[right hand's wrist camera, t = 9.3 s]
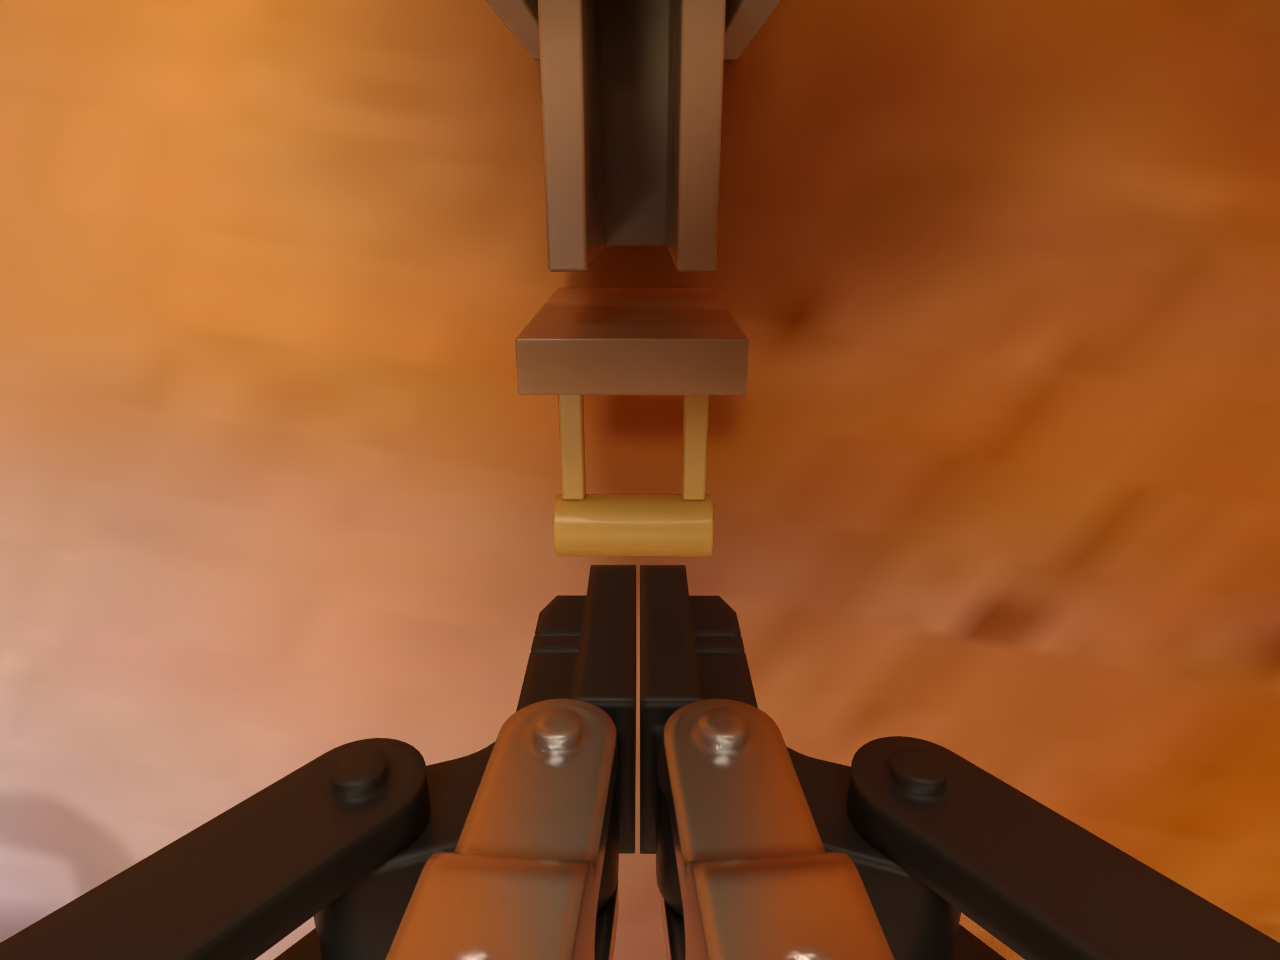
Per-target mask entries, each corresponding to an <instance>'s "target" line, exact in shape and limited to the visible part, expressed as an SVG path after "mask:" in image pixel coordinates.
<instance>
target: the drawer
mask: <svg viewBox="0 0 1280 960" xmlns="http://www.w3.org/2000/svg"><path fill="white" fill-rule="evenodd" d="M725 10H726V0H538V19H539V46H540V72H541V98H542V124H543V151H544V177H545V203H546V229H547V256H548V269H549V270H550V271H552V272H584V271H586V270H587V269H588V267H589V266H590V264H591V263H592V261H593V260H594V258H595V257H596V256H597V254H598V253H599V251H600V250H601V248H602V247H603V246H667V248H668V250H669V252H670V255H671V257H672V259H673V261H674V263H675V266H676V268H677V270H678V271H680V272H713V271H715V270H716V264H717V236H718V208H719V179H720V151H721V123H722V95H723V67H724V38H725ZM515 342H516V360H517V379H518V393H519V394H520V395H558V399H559V427H560V455H561V484H562V494H558V495H557V496H556V498H555V504H554V517H553V538H554V550H555V554H556V556H711V554H712V550H713V537H714V516H713V502H712V497H711V495H705V491H706V462H707V432H708V403H709V395H745V394H746V387H747V367H748V348H749V340H748V338H747V337H746V335H745V334H744V332H743V331H742V330H741V328H740V327H739V325H738V324H737V323H736V321H735V320H734V318H733V317H732V316H731V314H730V313H729V311H728V310H727V309H726V307H725V306H724V305H723V303H722V302H721V300H720V299H719V298H718V296H717V295H716V293H715V292H714V291H713V289H712V288H558V289H557V290H556V291H555V292H554V294H553V295H552V296H551V297H550V298H549V300H548V301H547V302H546V303H545V304H544V306H543V307H542V308H541V309H540V310H539V312H538V313H537V314H536V315H535V316H534V318H533V319H532V320H531V321H530V322H529V324H528V325H527V326H526V327H525V328H524V330H523V331H522V332H521V333H520V334H519V336H518V337H517V338H516V340H515ZM583 395H684V417H683V461H682V495H657V494H585V492H586V481H585V439H584V398H583Z"/></svg>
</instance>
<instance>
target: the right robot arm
mask: <svg viewBox="0 0 1280 960" xmlns="http://www.w3.org/2000/svg"><path fill="white" fill-rule="evenodd" d="M635 775H636V565H591V568H590V575H589V583H588V590H587V596H556V597H555V598H554V599H553V600H552V601H551V602H550V603H549V604H548V605H547V606H546V607H545V608H544V609H543V610H542V611H541V612H540V614H539V618H538V622H537V627H536V631H535V636H534V639H533V643H532V648H531V653H530V656H529V660H528V665H527V669H526V673H525V677H524V681H523V686H522V690H521V694H520V698H519V703H518V707H517V711H516V713H514V714H513V715H512V716H511V717H510V718H508V719H507V721H506V722H505V723H504V724H503V726H502V728H501V730H500V732H499V734H498V737H497V740H496V741H495V742H494V743H492V744H491V745H489V746H488V747H486V748H484V749H482V750H480V751H478V752H476V753H473V754H471V755H468V756H465V757H462V758H458V759H454V760H450V761H446V762H441V763H437V764H433V765H428V766H426V765H425V761H424V758H423V756H422V755H421V754H420V752H419V751H418V750H417V749H415V748H414V747H413V746H411V745H409V744H407V743H405V742H402V741H399V740H395V739H388V738H373V739H364V740H359V741H354V742H351V743H347V744H344V745H342V746H339V747H337V748H334V749H332V750H331V751H329V752H327V753H325V754H323V755H321V756H320V757H318V758H316V759H314V760H313V761H311V762H309V763H308V764H306V765H304V766H302V767H301V768H299V769H297V770H296V771H294V772H292V773H291V774H289V775H287V776H285V777H284V778H282V779H280V780H279V781H277V782H275V783H273V784H272V785H270V786H268V787H267V788H265V789H263V790H261V791H260V792H258V793H256V794H255V795H253V796H251V797H249V798H248V799H246V800H244V801H243V802H241V803H239V804H237V805H236V806H234V807H232V808H231V809H229V810H227V811H225V812H224V813H222V814H220V815H219V816H217V817H215V818H214V819H212V820H210V821H208V822H207V823H205V824H203V825H202V826H200V827H198V828H196V829H195V830H193V831H191V832H190V833H188V834H186V835H184V836H183V837H181V838H179V839H178V840H176V841H174V842H172V843H171V844H169V845H167V846H166V847H164V848H162V849H160V850H159V851H157V852H155V853H154V854H152V855H150V856H148V857H147V858H145V859H143V860H142V861H140V862H138V863H137V864H135V865H133V866H131V867H130V868H128V869H126V870H125V871H123V872H121V873H119V874H118V875H116V876H114V877H113V878H111V879H109V880H107V881H106V882H104V883H102V884H101V885H99V886H97V887H95V888H94V889H92V890H90V891H89V892H87V893H85V894H83V895H82V896H80V897H78V898H77V899H75V900H73V901H71V902H70V903H68V904H66V905H65V906H63V907H61V908H60V909H58V910H56V911H54V912H53V913H51V914H49V915H48V916H46V917H44V918H42V919H41V920H39V921H37V922H36V923H34V924H32V925H30V926H29V927H27V928H25V929H24V930H22V931H20V932H18V933H17V934H15V935H13V936H12V937H10V938H8V939H6V940H5V941H3V942H1V943H0V960H255V959H256V958H258V957H259V956H260V955H262V954H263V953H264V952H266V951H267V950H268V949H270V948H271V947H272V946H274V945H275V944H276V943H278V942H279V941H280V940H282V939H283V938H284V937H286V936H287V935H288V934H290V933H291V932H292V931H294V930H295V929H297V928H298V927H299V926H301V925H302V924H303V923H305V922H306V921H307V920H309V919H310V918H311V917H313V916H314V921H315V926H316V928H315V929H314V930H312V931H311V932H310V933H308V934H307V935H306V936H304V937H303V938H302V939H300V940H299V941H298V942H296V943H295V944H294V945H292V946H291V947H290V948H289V949H287V950H286V951H285V952H283V953H282V954H281V955H279V956H278V957H277V958H275V959H274V960H613V955H614V946H615V937H616V929H617V920H618V864H619V853H635ZM640 854H656V877H657V884H658V887H659V890H660V893H661V895H662V920H663V929H664V937H665V946H666V955H667V960H1006V959H1005V958H1003V957H1002V956H1001V955H999V954H998V953H997V952H995V951H994V950H993V949H991V948H990V947H989V946H988V945H986V944H985V943H984V942H982V941H981V940H980V939H978V938H977V937H976V936H974V935H973V934H972V933H970V932H969V931H968V930H966V929H965V928H964V927H962V926H961V925H960V924H959V921H960V916H961V912H962V913H963V914H965V915H966V916H967V917H969V918H970V919H971V920H973V921H974V922H975V923H977V924H978V925H979V926H981V927H982V928H983V929H985V930H986V931H987V932H989V933H990V934H992V935H993V936H994V937H996V938H997V939H998V940H1000V941H1001V942H1002V943H1004V944H1005V945H1006V946H1008V947H1009V948H1010V949H1012V950H1013V951H1014V952H1016V953H1017V954H1018V955H1020V956H1021V957H1022V958H1024V959H1025V960H1280V943H1279V942H1277V941H1275V940H1274V939H1272V938H1270V937H1268V936H1267V935H1265V934H1263V933H1262V932H1260V931H1258V930H1256V929H1255V928H1253V927H1251V926H1250V925H1248V924H1246V923H1244V922H1243V921H1241V920H1239V919H1238V918H1236V917H1234V916H1232V915H1231V914H1229V913H1227V912H1226V911H1224V910H1222V909H1220V908H1219V907H1217V906H1215V905H1214V904H1212V903H1210V902H1208V901H1207V900H1205V899H1203V898H1202V897H1200V896H1198V895H1197V894H1195V893H1193V892H1191V891H1190V890H1188V889H1186V888H1185V887H1183V886H1181V885H1179V884H1178V883H1176V882H1174V881H1173V880H1171V879H1169V878H1167V877H1166V876H1164V875H1162V874H1161V873H1159V872H1157V871H1155V870H1154V869H1152V868H1150V867H1149V866H1147V865H1145V864H1143V863H1142V862H1140V861H1138V860H1137V859H1135V858H1133V857H1131V856H1130V855H1128V854H1126V853H1125V852H1123V851H1121V850H1120V849H1118V848H1116V847H1114V846H1113V845H1111V844H1109V843H1108V842H1106V841H1104V840H1102V839H1101V838H1099V837H1097V836H1096V835H1094V834H1092V833H1090V832H1089V831H1087V830H1085V829H1084V828H1082V827H1080V826H1078V825H1077V824H1075V823H1073V822H1072V821H1070V820H1068V819H1066V818H1065V817H1063V816H1061V815H1060V814H1058V813H1056V812H1054V811H1053V810H1051V809H1049V808H1048V807H1046V806H1044V805H1043V804H1041V803H1039V802H1037V801H1036V800H1034V799H1032V798H1031V797H1029V796H1027V795H1025V794H1024V793H1022V792H1020V791H1019V790H1017V789H1015V788H1013V787H1012V786H1010V785H1008V784H1007V783H1005V782H1003V781H1001V780H1000V779H998V778H996V777H995V776H993V775H991V774H989V773H988V772H986V771H984V770H983V769H981V768H979V767H977V766H976V765H974V764H972V763H971V762H969V761H967V760H966V759H964V758H962V757H960V756H959V755H957V754H955V753H954V752H952V751H950V750H948V749H946V748H944V747H942V746H940V745H937V744H935V743H932V742H929V741H925V740H922V739H917V738H911V737H901V736H896V737H884V738H879V739H876V740H873V741H870V742H868V743H866V744H865V745H863V746H862V747H861V748H860V749H858V751H857V752H856V753H855V755H854V757H853V760H852V764H851V767H849V766H845V765H840V764H836V763H832V762H828V761H823V760H819V759H815V758H812V757H808V756H805V755H803V754H800V753H798V752H796V751H794V750H792V749H790V748H788V747H786V745H785V742H784V740H783V737H782V734H781V732H780V730H779V728H778V726H777V724H776V723H775V722H774V721H773V719H772V718H770V717H769V716H768V715H767V714H766V713H764V712H763V711H761V710H760V709H758V707H757V703H756V698H755V694H754V690H753V685H752V681H751V676H750V672H749V667H748V663H747V659H746V654H745V653H744V645H743V641H742V637H741V632H740V628H739V623H738V619H737V615H736V612H735V611H734V610H733V609H732V608H731V607H730V606H729V605H728V604H727V603H726V602H725V601H724V600H723V599H722V598H721V597H720V596H689V592H688V584H687V576H686V568H685V565H640Z"/></svg>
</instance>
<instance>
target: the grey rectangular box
mask: <svg viewBox="0 0 1280 960" xmlns="http://www.w3.org/2000/svg"><path fill="white" fill-rule="evenodd" d="M485 1H486V2H487V3H488V4H489V5H490V7H491V8H492V9H493V10H494V11H495V13H496V14H497V15H498V16H499V18H500V19H501V20H502V21H503V22H504V24H505V25H506V26H507V27H508V28H509V30H510V31H511V32H512V33H513V35H514V36H515V37H516V38H517V39H518V41H519V42H520V43H521V44H522V45H523V47H524V48H525V49H526V50H527V52H528V53H529V54H530V55H531V57H532V58H533V59H540V46H539V19H538V0H485ZM780 1H781V0H726V10H725V38H724V60H736V59H738V58H739V56H740V55H741V54H742V52H743V51H744V50H745V48H746V47H747V46H748V44H749V43H750V42H751V40H752V39H753V38H754V36H755V35H756V33H757V32H758V31H759V29H760V28H761V27H762V25H763V24H764V23H765V21H766V20H767V19H768V17H769V16H770V15H771V13H772V12H773V11H774V9H775V8H776V7H777V5H778V4H779V3H780Z"/></svg>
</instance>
